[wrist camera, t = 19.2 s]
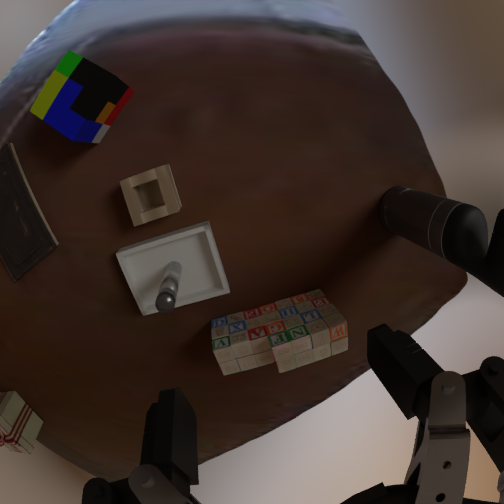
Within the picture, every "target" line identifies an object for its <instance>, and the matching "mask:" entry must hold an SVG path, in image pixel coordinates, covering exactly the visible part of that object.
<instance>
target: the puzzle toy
mask: <svg viewBox="0 0 504 504" xmlns="http://www.w3.org/2000/svg"><path fill="white" fill-rule="evenodd" d="M133 93H134V91H133V90H132V89H131V88H130V87H128V86H127V85H126V84H125V83H124V82H122V81H121V80H120V79H119V78H118V77H116V76H115V75H113V74H112V73H110V72H108V71H106V70H105V69H103V68H101V67H99V66H98V65H96V64H94V63H92V62H90V61H89V60H87V59H85V58H83V57H81V56H79V55H77V54H75V53H74V52H72V51H70V50H69V51H68V52H67V53H66V55H65V56H64V57H63V59H62V60H61V62H60V63H59V64H58V66H57V67H56V69H55V70H54V72H53V73H52V75H51V76H50V78H49V79H48V81H47V82H46V84H45V86H44V87H43V89H42V91H41V92H40V94H39V96H38V97H37V99H36V101H35V102H34V104H33V106H32V108H31V110H30V111H31V112H32V113H33V114H35V115H36V116H38V117H39V118H40V119H42V120H43V121H45V122H46V123H47V124H49V125H50V126H52V127H53V128H54V129H56V130H57V131H59V132H60V133H61V134H63V135H64V136H66V137H67V138H68V139H70V140H71V141H76V142H89V143H100V141H101V140H102V138H103V136H104V135H105V133H106V132H107V130H108V129H109V127H110V126H111V124H112V123H113V121H114V120H115V118H116V117H117V115H118V114H119V112H120V111H121V110H122V108H123V107H124V105H125V104H126V103H127V101H128V100H129V99H130V97H131V96H132V95H133Z"/></svg>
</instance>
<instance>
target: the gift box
mask: <svg viewBox="0 0 504 504" xmlns="http://www.w3.org/2000/svg"><path fill="white" fill-rule="evenodd" d="M42 424H43V421H42V420H41V419H40V418H39V417H38V415H37V414H36V413H35V412H34V411H33V410H32V409H31V408H30V407H29V406H28V405H27V404H26V403H25V401H24V400H23V399H22V398H21V397H20V396H19V395H18V393H17V392H16V391H6V392H0V446H2V445H5V446H6V447H7V448H8V449H9V450H11V451H15V452H21V453H27V454H31V453H32V451H33V449H34V448H33V444H34V442H35V440H36V437H37V435H38V433H39V431H40V428H41V426H42Z"/></svg>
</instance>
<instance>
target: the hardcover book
mask: <svg viewBox="0 0 504 504" xmlns="http://www.w3.org/2000/svg"><path fill="white" fill-rule="evenodd" d="M58 244H59V243H58V242H57V240H56V238H55V236H54V234H53V233H52V231H51V229H50V227H49V225H48V223H47V221H46V220H45V218H44V216H43V214H42V212H41V210H40V208H39V206H38V204H37V201H36V199H35V197H34V195H33V193H32V191H31V188H30V186H29V184H28V182H27V179H26V177H25V175H24V172H23V170H22V167H21V165H20V162H19V160H18V157H17V154H16V152H15V149H14V146H13V143H10V142H9V141H8V142H7V143H6V144H5V146H4V147H3V148H2V149H1V150H0V258H1V260H2V262H3V264H4V265H5V267H6V269H7V271H8V273H9V274H10V276H11V278H12V279H13V281H14V282H16V281H17V280H18V279H19V278H20V277H21V276H22V275H24V274H25V273H26V272H27V271H28V270H29V269H30V268H32V267H33V266H34V265H35V264H36V263H38V262H39V261H40V260H41V259H42V258H44V257H45V256H46V255H47V254H49V253H50V252H51V251H52V250H54V249H55V248H56V247H57V245H58Z"/></svg>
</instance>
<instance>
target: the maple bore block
mask: <svg viewBox="0 0 504 504" xmlns="http://www.w3.org/2000/svg"><path fill="white" fill-rule="evenodd" d="M120 185H121V188H122V191H123V194H124V197H125V201H126V204H127V207H128V210H129V213H130V216H131V218H132V221H133V224H134V227H135V226H138V225H140V224H143V223H146V222H149V221H152V220H155V219H158V218H161V217H164V216H167V215H170V214H173V213H177V212H179V210H180V208H181V207H182V205H181V202H180V199H179V196H178V193H177V189H176V186H175V183H174V179H173V176H172V172H171V169H170V166H169V164H168V165H163V166H160V167H157V168H154V169H151V170H149V171H146V172H143V173H140V174H138V175H135V176H132V177H130V178H127V179H125V180H122V181H120Z"/></svg>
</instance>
